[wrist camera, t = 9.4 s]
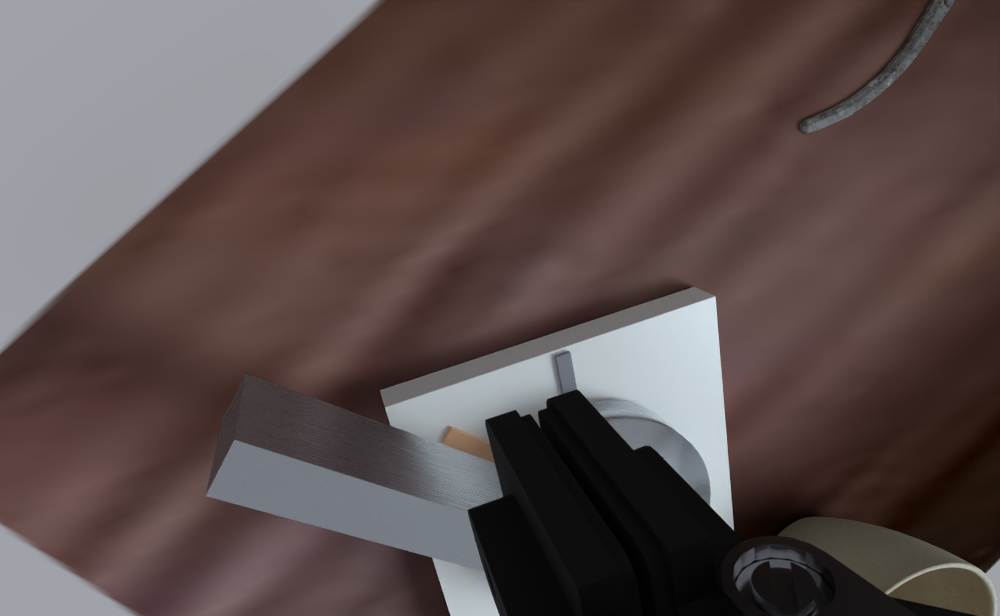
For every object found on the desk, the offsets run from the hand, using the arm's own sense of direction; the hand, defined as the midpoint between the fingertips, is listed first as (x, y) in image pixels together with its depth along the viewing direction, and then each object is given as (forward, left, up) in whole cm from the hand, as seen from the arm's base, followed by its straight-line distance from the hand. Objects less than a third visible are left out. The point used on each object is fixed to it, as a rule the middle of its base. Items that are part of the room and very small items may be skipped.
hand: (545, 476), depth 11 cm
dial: (-1, +7, -12) cm, 14 cm away
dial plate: (-5, +11, -14) cm, 18 cm away
